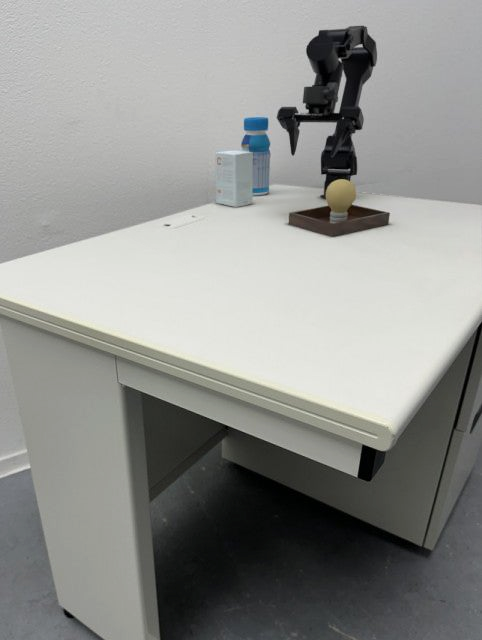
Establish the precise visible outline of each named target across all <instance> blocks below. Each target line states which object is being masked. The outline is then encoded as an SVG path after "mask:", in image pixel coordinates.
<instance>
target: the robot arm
mask: <svg viewBox="0 0 482 640" xmlns="http://www.w3.org/2000/svg"><path fill="white" fill-rule="evenodd" d="M361 45H362V46H361ZM305 53H306V56H307V57H306V58H307V59H308V61H309V65H310V66H311V69H312V72H313V73H314V74H315V77H314V82H313V84H312V85H311V86H304V87H303V94H302V104H305V106H304V107H305V110H308V111H307V112H299V110H298V109H297V106H281V107H280V108H278V110H277V113H276V120H277V121H278V123H279V124H280V126H281V128H282V129H284V130H285V131H286V132H287V133H288V139H289V147H290V154H291V156H293V157H294V156H295V154H296V151H297V146H298V142H299V137H300V129H299V127H300V126H301V123H332V124H333V123H335V124H336V125H335V129H334V133H333V134H332V135H328V136H326V139H325V145H324V149H323V150H322V151H321V155H320V175H322V176H324V175H325V180H324V184H323V186H324V187H323V194H320V198H323V199H326V190H327V188H328V186H329V185H330V184H331V183H332V182H334V181H336V180H339V179H345V180H348V181H350V182H351V180H352V179H351V178H352V177H353V176H357V174H358V157H357V155H356V148H355V145H354V142H353V139H352V137H353V134H356V131H362V130H363V126H364V123H365V122H364V121H365V117H364V115H363V111H362V108H361V107H360V106H359V105H360V101H361V97H362V91H363V87H364V85H365V84H366V82H368V81H369V79H370V78H371V77H372V74H373V70H374V68H375V67H376V65H377V62H378V50H377V42H376V40H375V39H373V37H371V35H370V34H369V31H368V26H366V25H351V26H349V25H348V27H346V28H336V29H335V28H334V29H319V30H318V33H317V35H316V36H314V37H312V39H311V40H310V41H309V42H308V44H307V45H306V49H305ZM343 74H344V79H345V83H344V87H343V92H342V97H341V101H340V107H339V111H338V112H335V111H336V104H337V103H338V101H339V91H340V88H341V87H340V86H341V82H342V77H343Z"/></svg>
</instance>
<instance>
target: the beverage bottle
mask: <svg viewBox="0 0 482 640" xmlns="http://www.w3.org/2000/svg"><path fill="white" fill-rule="evenodd" d="M268 130H269V118H268V117H265V116H255V117H254V116H252V117H245V118H243V131H244V132H245V134H244V135H243V138H242V140H241V143H240V146H241V151H244V152H253V195H252V196H263V195H267V194H269V192H270V170H271V169H270V168H271V167H270V165H271V164H270V163H271V155H272V154H271V150H270V147H271V141H270V138H269V136H268V134H267V132H268Z"/></svg>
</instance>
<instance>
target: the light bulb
mask: <svg viewBox="0 0 482 640" xmlns="http://www.w3.org/2000/svg"><path fill="white" fill-rule="evenodd" d="M356 196H357V189H356V185H355V184H354V183H353V182H352V181H351V180H350V181H348V180H345V179H339V180H336V181H334V182H332V183H331V184H330V185H329V186H328V188H327V190H326V198H325V200H326V203H327V206H330V208H331V210H332V211H331V212H330V215H331V216H330V223H333V224H334V223H338V222H343V221H346V220H347V215H348V212H347V210H348V208H349V207H350V206H351V205H353V203H354V201H355V199H356Z"/></svg>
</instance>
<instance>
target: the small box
mask: <svg viewBox="0 0 482 640" xmlns="http://www.w3.org/2000/svg"><path fill="white" fill-rule="evenodd" d="M253 198H254V195H253V152H244V151H242V150H234V149H232V150H224V151H215V201H216V202H215V204H220V205H224V206H230V207H233V208H238V207H243V206H248V205H251V204H253Z"/></svg>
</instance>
